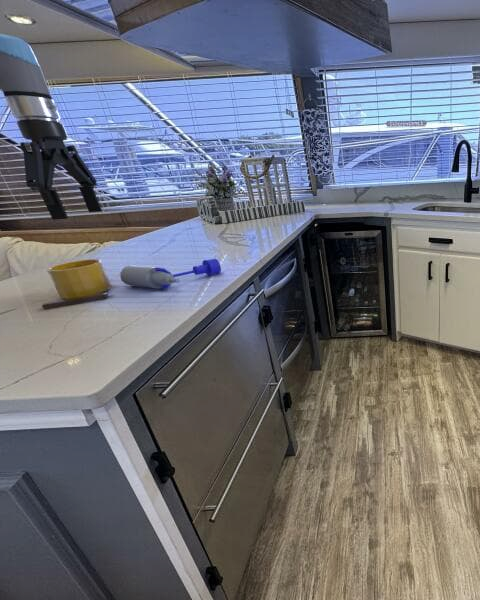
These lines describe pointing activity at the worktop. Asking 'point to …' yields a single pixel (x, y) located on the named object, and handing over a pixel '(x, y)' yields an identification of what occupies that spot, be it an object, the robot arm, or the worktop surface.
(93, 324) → the worktop surface
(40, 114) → the robot arm
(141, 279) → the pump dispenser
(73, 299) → the stop bar
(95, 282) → the bowl
